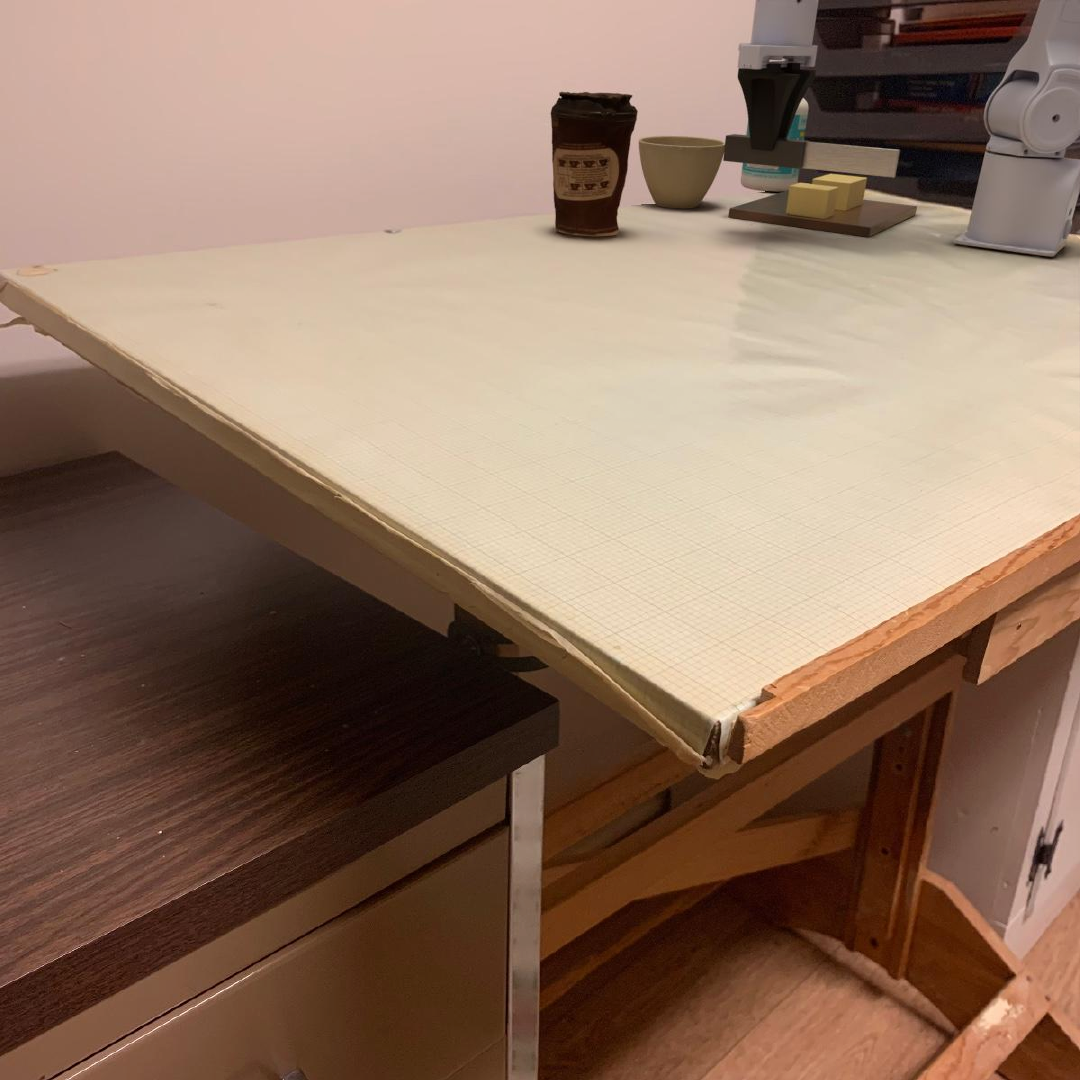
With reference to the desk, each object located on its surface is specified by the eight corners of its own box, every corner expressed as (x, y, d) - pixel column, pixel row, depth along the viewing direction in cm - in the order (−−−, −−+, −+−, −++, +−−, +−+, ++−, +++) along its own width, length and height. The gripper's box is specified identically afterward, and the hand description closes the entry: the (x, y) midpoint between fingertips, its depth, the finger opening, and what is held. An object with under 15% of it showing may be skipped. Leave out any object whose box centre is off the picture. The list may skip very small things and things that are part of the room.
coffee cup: (622, 244, 96) (632, 97, 90) (538, 237, 97) (543, 93, 91) (632, 228, 103) (643, 92, 97) (554, 222, 105) (560, 87, 98)
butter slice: (833, 215, 108) (838, 187, 107) (824, 219, 106) (829, 190, 105) (795, 210, 110) (799, 182, 109) (785, 214, 108) (789, 185, 107)
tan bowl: (630, 196, 121) (635, 134, 118) (712, 199, 121) (718, 137, 118) (637, 211, 112) (642, 143, 109) (724, 214, 113) (732, 146, 109)
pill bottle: (801, 194, 128) (819, 79, 121) (744, 191, 128) (759, 76, 121) (789, 185, 134) (806, 76, 128) (735, 183, 134) (749, 73, 128)
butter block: (862, 204, 116) (867, 177, 114) (845, 211, 111) (850, 183, 110) (826, 200, 118) (830, 173, 116) (808, 206, 113) (812, 178, 112)
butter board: (915, 214, 117) (917, 206, 116) (868, 237, 103) (870, 227, 103) (786, 198, 124) (788, 190, 124) (727, 217, 111) (729, 208, 110)
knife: (897, 176, 93) (902, 149, 92) (891, 178, 91) (896, 150, 90) (731, 159, 101) (734, 134, 100) (722, 160, 100) (725, 135, 99)
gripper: (777, -7, 99) (758, 139, 105) (715, -13, 88) (698, 150, 94) (846, -5, 95) (822, 146, 102) (790, -11, 85) (767, 158, 91)
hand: (767, 148), depth 98 cm, fingers closed on knife, 2 cm apart
